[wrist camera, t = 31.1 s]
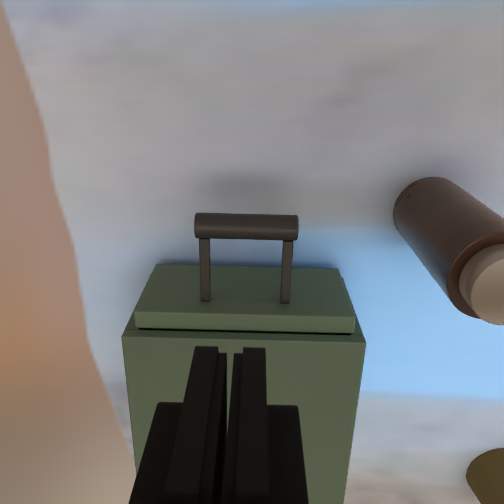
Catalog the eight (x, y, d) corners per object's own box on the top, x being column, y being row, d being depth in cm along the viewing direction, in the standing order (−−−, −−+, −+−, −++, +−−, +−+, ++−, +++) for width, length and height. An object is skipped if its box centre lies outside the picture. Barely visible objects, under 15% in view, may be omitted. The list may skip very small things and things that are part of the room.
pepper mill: (398, 175, 32) (469, 242, 21) (470, 177, 32) (579, 245, 21) (388, 242, 34) (449, 334, 23) (456, 244, 34) (549, 337, 23)
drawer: (150, 187, 32) (124, 221, 26) (346, 192, 32) (367, 227, 26) (167, 424, 41) (150, 493, 34) (321, 429, 41) (332, 498, 34)
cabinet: (151, 272, 36) (121, 336, 28) (343, 277, 36) (366, 342, 28) (163, 436, 42) (141, 525, 35) (324, 441, 42) (339, 531, 34)
